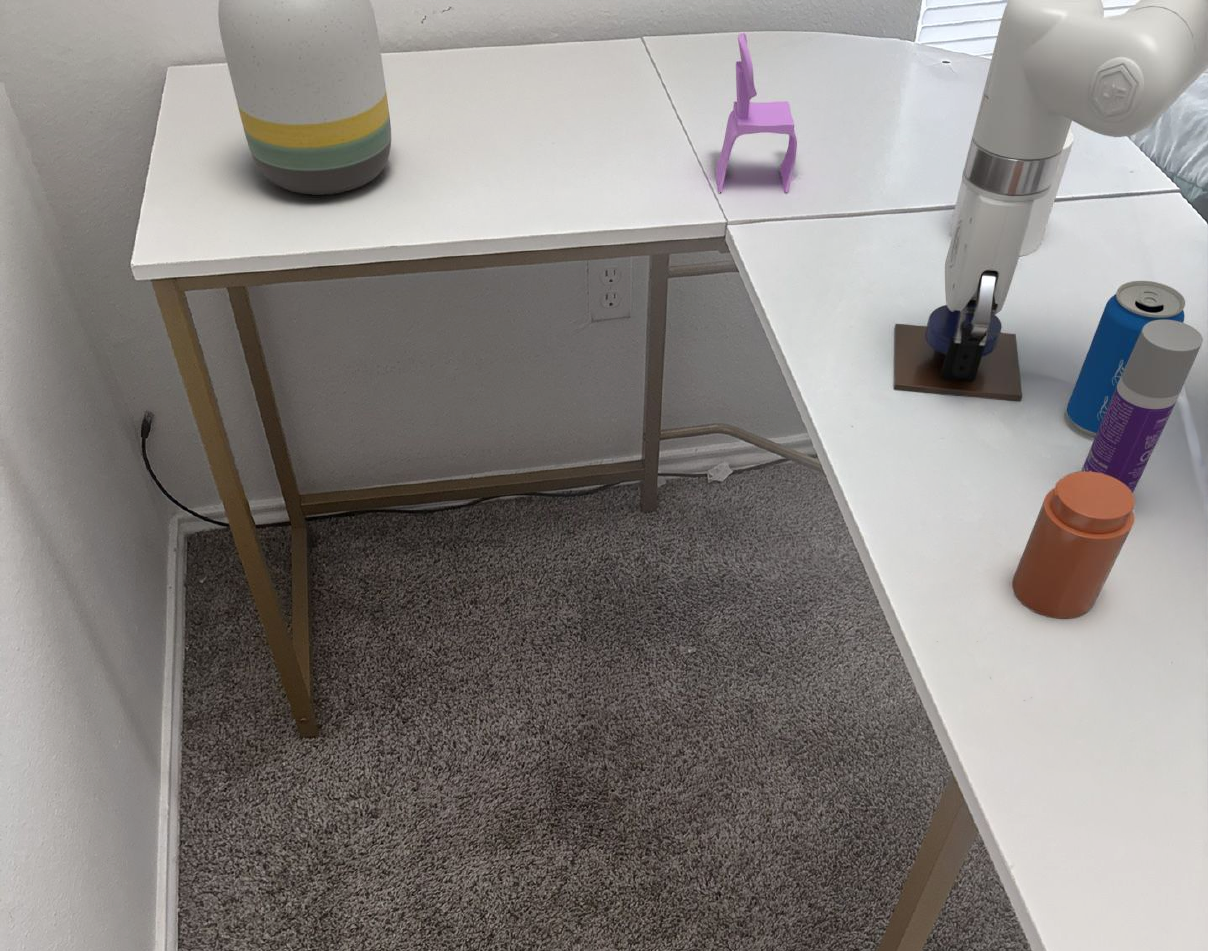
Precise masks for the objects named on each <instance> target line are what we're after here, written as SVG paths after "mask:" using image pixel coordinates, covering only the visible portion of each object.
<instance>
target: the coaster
mask: <svg viewBox="0 0 1208 951" xmlns="http://www.w3.org/2000/svg"><path fill="white" fill-rule="evenodd" d="M926 328H927V325H915V324H904V323H895V325H894V329H893V334H894V335H893V339H894V340H893V344H894V345H893V390H895V391H906V392H916V393H926V394H939V395H949V396H960V397H971V398H980V399H981V398H982V399H991V400H992V399H993V400H1002V401H1003V400H1005V401H1015V402H1021V401H1022V400H1023V390H1022V380H1021V370H1020V361H1019V360H1020V359H1019V352H1018V344H1017V342H1018V341H1017V335H1016V333H1011V332H1009V333H1008V332H1001V333H1000V336H999V339H998V342H997V346H996V348H995V349H994V350H993V351H992V352H991V353H990V354H988V355H986V356H983V357H982V358H981V361H980V364H979V368H978V371H977V374H976V377H975V380H974V381H973V382H964V381H953V380H944V379H942V378H941V371H942V368H943V364H944V360H945V357H946V355H944V354H941V353H939V352H937V351H936V350H934V349H933V348H932V347H931V346H930V345H929V344H928V343H927V341H926V338H925V332H926Z"/></svg>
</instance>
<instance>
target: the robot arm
mask: <svg viewBox="0 0 1208 951" xmlns="http://www.w3.org/2000/svg"><path fill="white" fill-rule="evenodd" d="M1104 12H1105V11H1104V3H1103V1H1102V0H1008V1H1007V2H1006V5H1005V7H1004V10H1003V12H1002V17H1001V20H1000V23H999V28H998V32H997V36H996V40H995V43H994V48H993V52H992V56H991V59H990V63H989V68H988V72H987V76H986V79H985V84H984V86H983V92H982V95H981V99H980V103H979V107H978V111H977V114H976V115H977V116H976V120H975V123H974V127H973V131H972V136H971V139H970V143H969V148H968V152H967V155H966V159H965V163H964V166H963V170H962V174H961V181H963V183H964V185H966V186H967V190H966V193H965V196H964V200H963V203H962V206H961V210H960V213H959V216H958V220H957V223H956V227H955V230H954V233H953V237H951V241H950V244H949V247H948V250H947V253H946V258H945V261H944V262H945V264H944V294H945V305H947V307H948V309H949V310H950V311H952V312H954V310H958V311H960V313H959V317H958V322H957V327H956V332H955V337H954V338H951V339H950V342H949V346H948V350H947V353H946V357H945V360H944V364H943V368H942V371H941V378H942V379H944V380H953V381H964V382H973V381H974V380H975V377H976V374H977V371H978V368H979V364H980V361H981V358H982V355H983V351H984V348H985V345H986V339H987V334H988V330H989V325H990V320H991V316H992V314H993V315H996V316H997V314H999V313H1000V312H1001V311H1002V310H1003V308H1004V305H1005V302H1006V299H1007V297H1008V294H1009V291H1010V287H1011V284H1012V281H1013V278H1014V275H1015V272H1016V268H1017V265H1018V261H1019V258H1020V256H1019V255H1020V251H1021V248H1022V244H1023V241H1024V237H1025V233H1026V230H1027V228H1028V222H1029V218H1030V215H1031V211H1032V207H1033V203H1034V200H1036V199H1039V198H1041V197H1043V196H1045V195H1046V194H1047V193H1048V192H1049V191H1050V188H1051V185H1052V182H1053V179H1054V175H1055V172H1056V169H1057V166H1058V163H1059V160H1060V156H1061V153H1062V150H1063V147H1064V144H1065V141H1066V138H1067V135H1068V132H1069V129H1070V128H1071V125H1072V123H1073V122H1074V123H1076V124H1077V125H1079V126H1081V127H1083V128H1085V129H1087V130H1089V131H1091V132H1093V133H1096V134H1099V135H1102V136H1106V137H1111V138H1124V137H1131V136H1134V135H1135V134H1136V135H1137V134H1138V133H1141V132H1143V131H1145V130H1147V129H1148V128H1149V127H1150V126H1152V125H1153V124H1155V123H1157V121H1158V120H1159V119H1160V118H1161V117H1162V116H1163V115H1164V114H1165V113H1166V112H1167V111H1168V110H1169V109H1170V108H1171V106H1173V105H1174V104H1175V103H1176V101H1177V100H1178V99H1179V98H1180V96H1181V95H1183V93H1184V92H1185V91H1186V90H1187V89H1188V88H1189V87H1190V86H1192V85H1193V84H1194V83H1195V81H1197V79H1199V78H1200V77H1201V76H1202V75H1203V73H1204V72H1206V71H1207V70H1208V0H1139V1H1137V2H1136V3H1135V4H1134V5H1133V6H1131V7H1130V8H1129V9H1128V10H1126V11H1125V13H1122V14H1117V15H1115V16H1111V17H1110V16H1109V17H1105V14H1104ZM967 304H968V305H975V307H967ZM967 314H970V315H974V317H973V320H972V322H971V324H967V325H966V327H964V325H965V321H966V316H967Z"/></svg>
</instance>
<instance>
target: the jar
mask: <svg viewBox="0 0 1208 951" xmlns="http://www.w3.org/2000/svg"><path fill="white" fill-rule="evenodd" d="M1135 503H1136V498H1135V495H1134V492H1133V493H1132V492H1131V490H1130V489H1129V488H1128V487H1127V486H1126V485H1125V484H1124V483H1122V482H1121V481H1119V480H1118V479H1116V478H1114V477H1111V476H1109V475H1106V474H1102V473H1098V472H1089V471H1082V472H1081V471H1076V472H1072V473H1069V474H1067V475H1065V476H1064V477H1062V478H1060V479H1059V480H1058V481H1057V482H1056V483H1055V485H1054V487H1053V488H1052V489H1050V490H1049V491H1048V492H1047V493H1046V495H1045V497H1044V498H1043V501H1042V504H1041V506H1040V509H1039V512H1038V513H1037V517H1036V519H1035V522H1034V525H1033V527H1032V529H1031V532H1030V534H1029V537H1028V540H1027V541H1026V542H1027V543H1026V544H1025V547H1024V550H1023V552H1022V555H1021V557H1020V559H1019V562H1018V565H1017V568H1016V570H1015V572H1014V575H1013V577H1012V581H1011V584H1012V590H1013V592H1014V594H1015V596H1016V598H1017V599H1018V600H1019V601H1020V603H1021V604H1023V605H1024V606H1025V607H1026V608H1027V609H1029V610H1032V611H1033V612H1035V613H1037V614H1040V615H1043V616H1045V617H1049V618H1056V619H1072V618H1077V617H1081V616H1083V615H1085V614H1087V613H1088V612H1090V611H1091V610H1092V609H1093V607H1095V604H1096V603H1097V600H1098V598H1099V596H1100V594H1101V592H1102V590H1103V588H1104V586H1105V583H1106V581H1107V579H1108V578H1109V575H1110V574H1111V571H1112V569H1113V568H1114V566H1115V563H1116V561H1117V559H1118V557H1119V555H1120V553H1121V551H1122V549H1123V546H1124V545H1125V543H1126V541H1127V539H1128V536H1129V534H1130V532H1131V530H1132V528H1133V526H1134V523H1135V519H1136V518H1135V511H1134V509H1135V505H1136V504H1135Z"/></svg>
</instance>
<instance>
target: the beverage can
mask: <svg viewBox="0 0 1208 951" xmlns="http://www.w3.org/2000/svg"><path fill="white" fill-rule="evenodd" d="M1185 307H1186V300H1185V298H1184V296H1183V295H1182V294H1181V293H1180V292H1179V291H1178V290H1177V289H1175V288H1173V287H1172V286H1169V285H1166V284H1163V283H1161V282H1157V281H1151V280H1149V281H1148V280H1132V281H1128V282H1126V283H1123V284H1122V285H1120V286H1119V287H1118V288H1117V290H1116V293H1115V294H1113V295H1112V296H1111V297H1110V298H1109V299H1108V300H1107V301H1106V304H1105V306H1104V308H1103V311H1102V314H1101V317H1100V319H1099V321H1098V323H1097V326H1096V329H1095V332H1094V335H1093V336H1092V340H1091V342H1090V345H1089V348H1088V350H1087V353H1086V356H1085V358H1084V360H1083V364H1082V366H1081V369H1080V371H1079V374H1078V376H1077V379H1076V382H1075V384H1074V387H1073V390H1072V392H1071V394H1070V397H1069V400H1068V402H1067V406H1066V408H1065V409H1066V414H1067V417H1068V419H1069V420H1070V421H1071V422H1072V424H1073V425H1074V426H1075V427H1076V428H1077V429H1078V430H1079V431H1081V432H1082V433H1084V434H1086V435H1089V436H1092V437H1094V438H1095V437H1096V434H1097V432H1098V429H1099V427H1100V425H1101V422H1102V420H1103V417H1104V415H1105V413H1106V410H1107V408H1108V406H1109V403H1110V401H1111V398H1112V396H1113V394H1114V391H1115V389H1116V386H1117V384H1118V382H1119V380H1120V378H1121V375H1122V373H1123V371H1124V369H1125V367H1126V364H1127V362H1128V360H1129V358H1130V355H1131V353H1132V351H1133V349H1134V347H1135V344H1136V342H1137V340H1138V338H1139V336H1140V333H1141V331H1142V329H1143V327H1144V326H1145V325H1146V324H1147V323H1149V322H1151V321H1155V320H1174V321H1179V322H1182V323H1184V322H1185V311H1184V309H1185Z"/></svg>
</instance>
